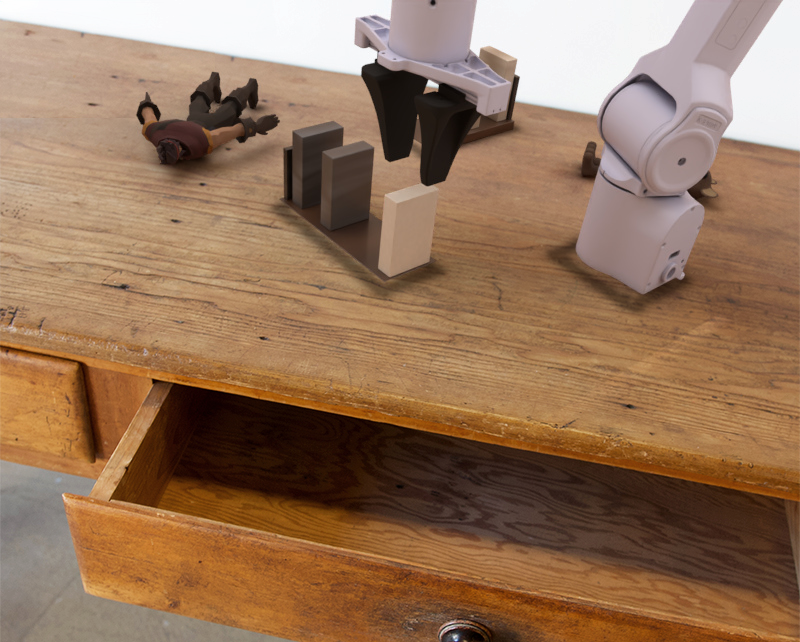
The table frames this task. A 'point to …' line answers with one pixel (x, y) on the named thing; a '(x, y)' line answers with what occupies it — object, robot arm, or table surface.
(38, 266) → the table surface
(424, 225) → the cream wooden block
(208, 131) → the figurine
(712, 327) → the table surface
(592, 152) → the bear figurine
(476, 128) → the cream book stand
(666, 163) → the robot arm
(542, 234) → the table surface
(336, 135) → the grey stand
